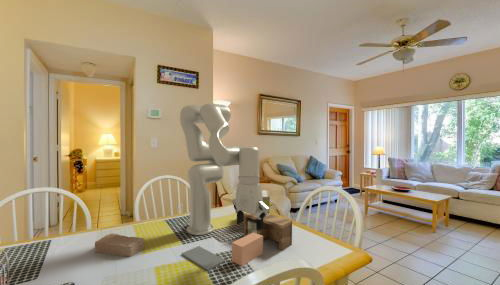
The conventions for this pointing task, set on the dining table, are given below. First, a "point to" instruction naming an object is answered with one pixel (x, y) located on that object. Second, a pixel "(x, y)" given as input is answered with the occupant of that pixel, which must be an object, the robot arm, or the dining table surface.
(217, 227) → the dining table surface
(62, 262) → the dining table surface
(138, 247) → the brick
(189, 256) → the mat
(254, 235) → the block
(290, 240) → the cubby
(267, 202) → the tea box
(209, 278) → the dining table surface
